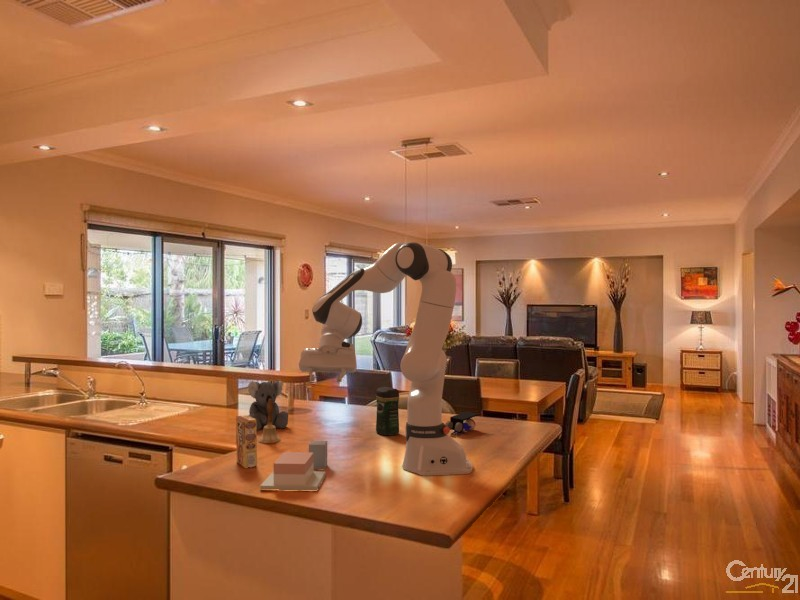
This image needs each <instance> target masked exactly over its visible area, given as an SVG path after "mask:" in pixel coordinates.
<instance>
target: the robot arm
mask: <svg viewBox="0 0 800 600" xmlns="http://www.w3.org/2000/svg"><path fill="white" fill-rule="evenodd" d="M452 269H453V260H452V258H451V256H450V254H448V253H447V252H446V251H445V250H443V249H440V248H436V247H434V246H431V245H429V244H424V243H418V242H413V241H412V242H411V241H410V242H407V243H405V242H401V241H400V242H396V243H394V244H392V245H391V246H390V247H389V248H387V250H385V251H384V252H383V253H382V254H381V255H380V256H379V258H377V260H376V261H374V263H372V264H371V265H369V266H366V267H364V268H363V267H362V268H361V267H360V268H356V269H355V270H353V271H352V272H351V273H349V274H348V275H347V276H346V277H345V278H344V279H342V280H341V281H340V282H339V283H337V284H336V285H335V286H334V287H333V288H331V290H329V291H328V292H327V293H325V294H324V295H322V296H320V297H319V298H318V299H317V300H316V301H315V303H314V304H313V307H312V315H313V318H314V320H315V322H317V323H320V324H322V328H321V332H320V333H321V337H320V339H319V342H318V348H305V349H303V350H302V351H301V352H300V359H299V361H298V367H299V370H300V371H301V372H302V373H306V372H307V373H308V375H309V382H315V379H316V376H315V374H313V373H340V374H337V375H336V382H338V383H341V382H343V381H342V380H343V379H344V377H346V374H353V373H355V372H356V371H357V368H358V365H357V356H356V350H355V345H354V343H352V342H348V341H345V340H348V339H350V338H352V337H355V336H356V335H358V333H359V332H360V331H361V328H362V326H363V316H362V314H361V312H359V311H358V310H356V309H354V308H353V307H351V306H349V305H346V304H345V303H343V302H341V301H343V299H344V298H346V297H347V296H348V295H349V294H351V293H352V292H354V291H367V292H371V293H377V294H385V293H390V292H392V291H393V290H394V289H396V287H398V286H399V285H400V284H401V282H402V281H403V280H404V279H405V278H406V276H408V277H409V278H411V279H412V280H414V281H420V283H421V289H422V290H421V293H420V299H419V303H418V308H417V311H416V319H415V322H414V326H413V328H412V332H411V335H410V336H409V340H408V343H407V345H406V348H405V352H404V354H403V356H402V358H401V361H400V372H401V373H402V375H403V377H404V378H405V379H407V380H408V381H410V387H409V393H408V396H407V398H406V399H407V408H406V409H407V411H406V412H407V413H406V414H407V417H406V418H407V422H406V423H405V441H406V445H405V451H404V452H405V453H404V458H403V462H402V465H401V468H402V469H404V470H405V471H408V472H412V473H414V474H417V475H420V476H422V475H423V477H424V476H425V475H430V476H447V475H449V474H452V475H467V474H470V473H472V472H473V469H474V466H473V463H472V462H471V461H470V460H469V459H467V457H466V452H465V449H464V447H463V446H462V445H461V444H460V443H459V442H458V441H456V440H455V439H454V438H453V437H452V436H450V435H449V434H450V432H451V430H450V429H449V427H448V426H447V425H446V423H444V422H443V421H442V417H443V416H442V413H443V412H442V410H443V408H442V404H443V393H444V392H443V391H444V387H445V386H444V384H445V375H446V366H447V361H448V359H447V358H448V357H447V354H446V352H445V351H444V350H443V347H444V344H445V341H446V339H447V336H448V334H449V332H450V327H451V321H452V318H453V312H454V307H455V302H456V298H457V296H456V295H457V278H456V276H455V275H454V273H452V272H451V271H452Z"/></svg>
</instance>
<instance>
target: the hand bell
mask: <svg viewBox="0 0 800 600" xmlns="http://www.w3.org/2000/svg"><path fill="white" fill-rule="evenodd" d="M273 409H274V405H273V401H272V399H269V400H268V403H267V413H268V423H267V425H266V424H265V425H263V431H262V434H261V437H260V438H259V439H258V440H257V442H258V443H261V444H276V443H279V442H281V438H280V437H279V435H278V433H277V428H276V427H275V426H274V425H272V413H273Z"/></svg>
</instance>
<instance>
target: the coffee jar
mask: <svg viewBox="0 0 800 600" xmlns="http://www.w3.org/2000/svg"><path fill="white" fill-rule="evenodd" d="M399 391H400V390H399V389H397V388H394V387H390V386H378V388H377V389H376V392H375V400H376V418H375V419H376V421H375V432H376V433H377V434H380V435H383V436H396V435H398V434H400V421H399V419H400V417H399V414H400V413H399V402H400V392H399Z"/></svg>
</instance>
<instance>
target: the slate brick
mask: <svg viewBox="0 0 800 600" xmlns="http://www.w3.org/2000/svg"><path fill="white" fill-rule="evenodd" d="M308 452H314V469H325V470H326V468H327V467H328V440H311V442H309V444H308ZM326 466H327V467H326Z"/></svg>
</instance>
